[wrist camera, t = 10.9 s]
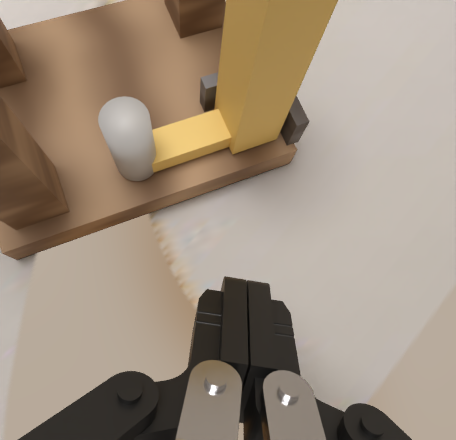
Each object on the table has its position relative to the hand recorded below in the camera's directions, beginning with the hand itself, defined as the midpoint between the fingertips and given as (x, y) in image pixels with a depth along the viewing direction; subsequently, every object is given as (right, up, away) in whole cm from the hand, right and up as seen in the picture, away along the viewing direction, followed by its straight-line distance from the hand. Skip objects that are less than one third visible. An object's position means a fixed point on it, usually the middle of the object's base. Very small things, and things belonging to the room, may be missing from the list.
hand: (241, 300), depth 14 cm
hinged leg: (-2, +7, +11) cm, 14 cm away
